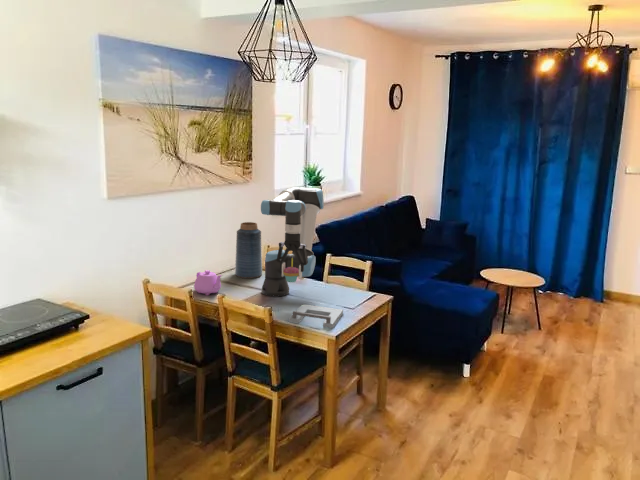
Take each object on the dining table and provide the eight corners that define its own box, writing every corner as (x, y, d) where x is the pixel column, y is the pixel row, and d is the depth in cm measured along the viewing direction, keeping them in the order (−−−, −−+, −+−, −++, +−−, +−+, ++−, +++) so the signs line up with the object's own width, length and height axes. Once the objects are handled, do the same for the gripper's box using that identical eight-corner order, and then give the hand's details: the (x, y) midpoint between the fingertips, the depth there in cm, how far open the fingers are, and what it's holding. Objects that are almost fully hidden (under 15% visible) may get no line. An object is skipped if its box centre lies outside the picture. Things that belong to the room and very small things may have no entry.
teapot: (231, 293, 282) (231, 271, 279) (211, 300, 271) (211, 277, 268) (206, 285, 294) (206, 264, 291) (186, 291, 282) (185, 269, 280)
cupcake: (282, 278, 264) (283, 255, 262) (299, 278, 265) (300, 255, 262) (282, 283, 256) (283, 259, 253) (300, 283, 257) (301, 260, 254)
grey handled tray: (289, 321, 245) (289, 311, 244) (302, 308, 264) (302, 298, 263) (332, 328, 240) (332, 317, 238) (342, 313, 258) (343, 303, 257)
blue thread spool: (233, 271, 323) (233, 221, 316) (260, 270, 327) (260, 221, 320) (236, 279, 307) (236, 226, 301) (263, 278, 311) (264, 226, 304)
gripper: (269, 231, 254) (269, 276, 259) (311, 235, 249) (309, 281, 254) (275, 228, 261) (274, 272, 266) (315, 232, 256) (314, 277, 261)
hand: (291, 276), depth 260 cm, fingers closed on cupcake, 8 cm apart
